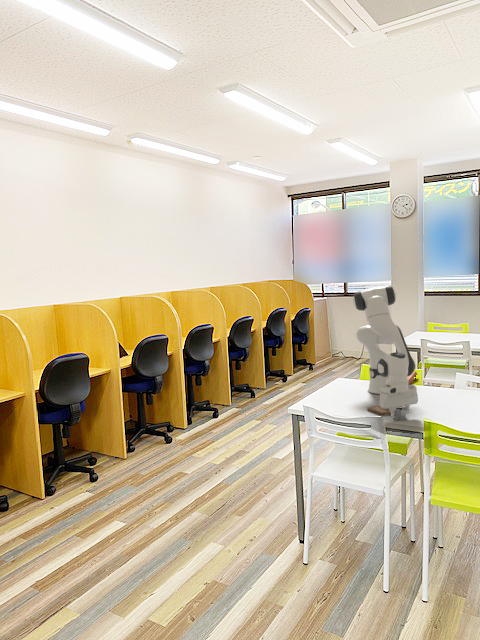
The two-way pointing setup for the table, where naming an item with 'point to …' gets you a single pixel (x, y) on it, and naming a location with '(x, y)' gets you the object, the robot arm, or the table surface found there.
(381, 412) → the stand
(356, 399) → the table surface
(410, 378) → the crank
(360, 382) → the table surface
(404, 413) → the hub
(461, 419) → the table surface
